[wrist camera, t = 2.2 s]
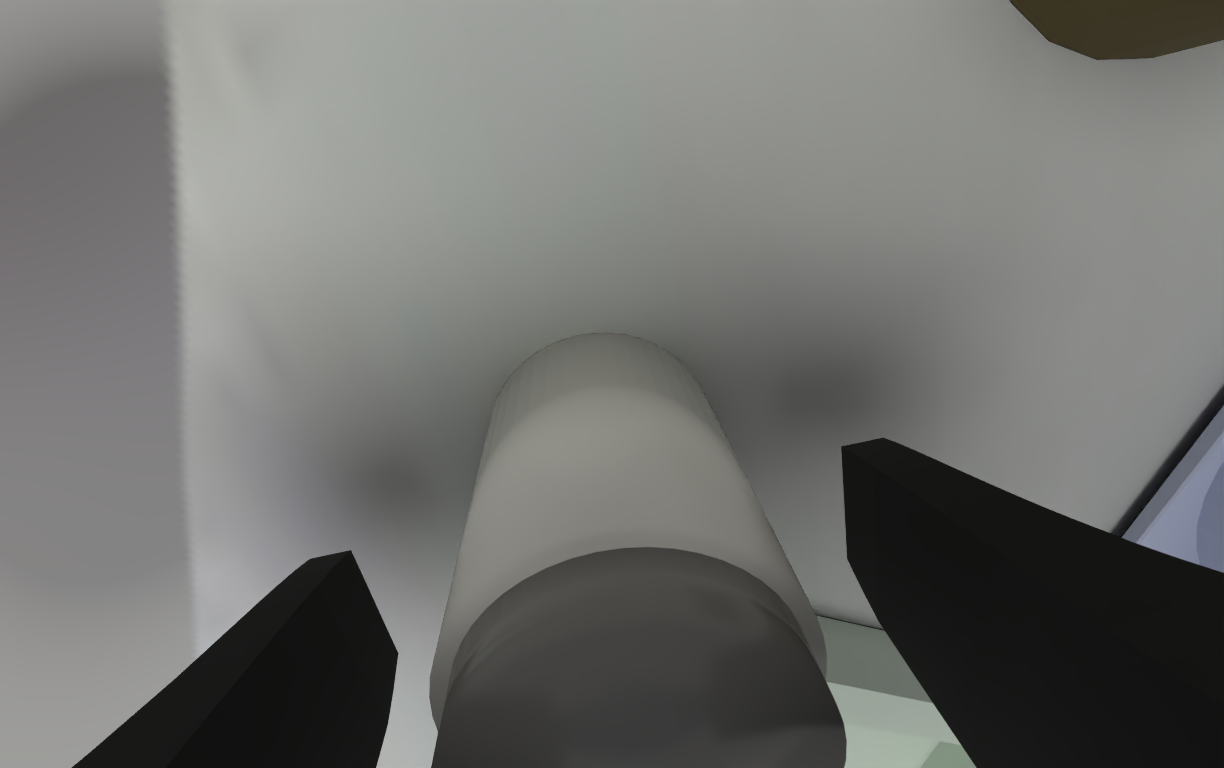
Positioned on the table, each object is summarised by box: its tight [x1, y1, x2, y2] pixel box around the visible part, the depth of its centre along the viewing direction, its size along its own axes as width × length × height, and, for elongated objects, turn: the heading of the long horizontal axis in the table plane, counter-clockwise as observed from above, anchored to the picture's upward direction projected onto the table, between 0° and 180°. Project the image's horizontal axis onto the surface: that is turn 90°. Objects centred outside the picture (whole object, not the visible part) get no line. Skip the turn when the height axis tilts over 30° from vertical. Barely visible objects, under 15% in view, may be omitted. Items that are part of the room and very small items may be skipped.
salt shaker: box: [429, 333, 847, 768], centre depth 9 cm, size 4×4×7 cm
